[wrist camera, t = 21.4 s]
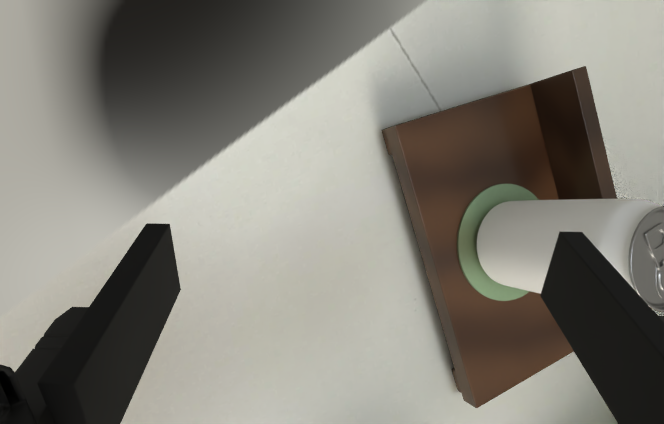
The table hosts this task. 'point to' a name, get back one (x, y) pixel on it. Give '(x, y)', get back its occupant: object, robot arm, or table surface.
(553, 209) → the can
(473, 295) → the shelf
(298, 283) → the table surface
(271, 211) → the table surface
